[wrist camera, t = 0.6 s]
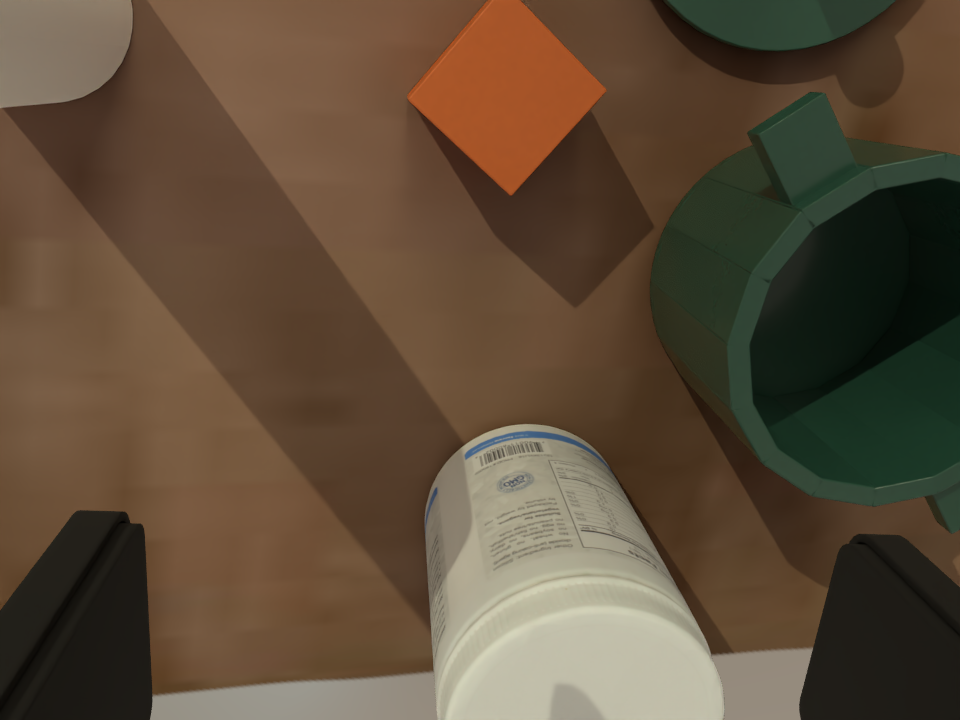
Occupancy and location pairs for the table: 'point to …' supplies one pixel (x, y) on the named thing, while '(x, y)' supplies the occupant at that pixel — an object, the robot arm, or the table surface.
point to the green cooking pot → (824, 308)
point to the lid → (777, 20)
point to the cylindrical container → (60, 48)
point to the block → (506, 92)
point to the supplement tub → (554, 592)
